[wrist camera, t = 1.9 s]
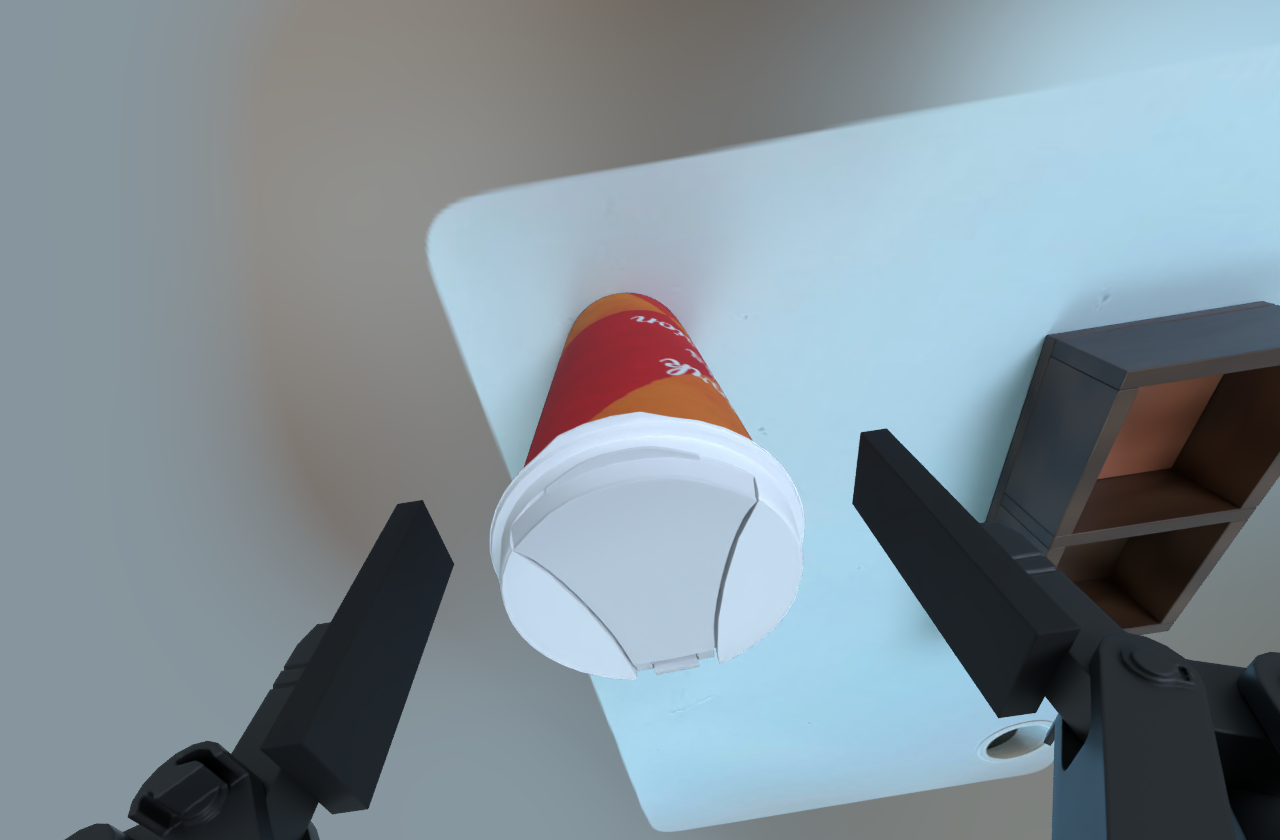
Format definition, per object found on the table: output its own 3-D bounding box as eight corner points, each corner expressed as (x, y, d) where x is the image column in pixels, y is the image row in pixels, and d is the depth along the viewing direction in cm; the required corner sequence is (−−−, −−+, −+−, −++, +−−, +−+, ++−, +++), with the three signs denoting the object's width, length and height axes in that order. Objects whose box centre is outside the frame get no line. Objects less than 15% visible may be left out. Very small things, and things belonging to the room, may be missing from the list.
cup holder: (1046, 334, 25) (1127, 371, 22) (1262, 300, 25) (1384, 331, 21) (959, 600, 37) (1002, 656, 33) (1108, 577, 37) (1168, 631, 33)
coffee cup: (716, 401, 26) (826, 660, 13) (571, 433, 27) (542, 714, 14) (693, 245, 22) (824, 408, 9) (520, 286, 22) (409, 497, 9)
